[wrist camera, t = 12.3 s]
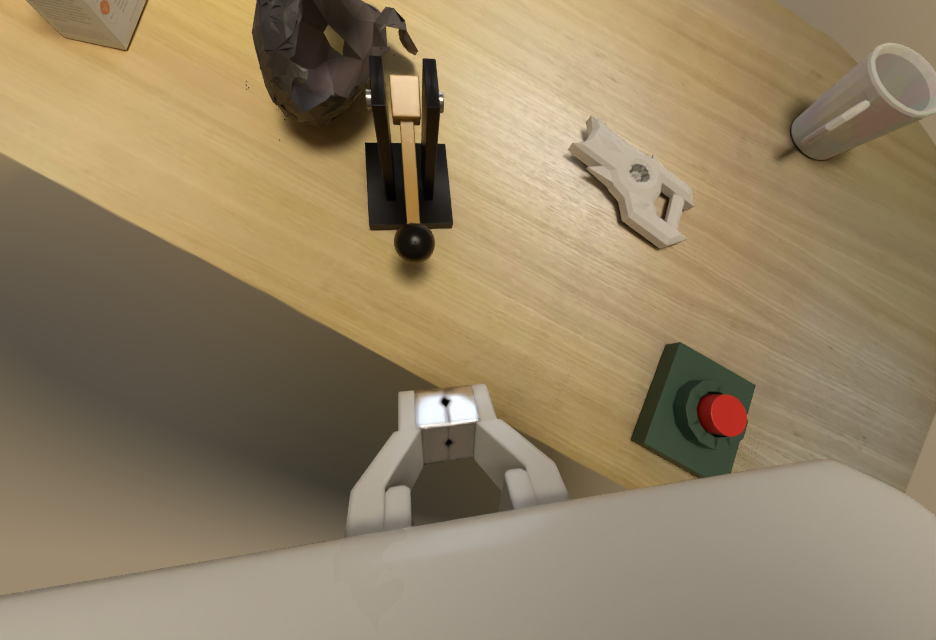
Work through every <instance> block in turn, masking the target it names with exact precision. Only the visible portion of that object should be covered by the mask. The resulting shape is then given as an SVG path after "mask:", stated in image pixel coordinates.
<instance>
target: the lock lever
mask: <svg viewBox="0 0 936 640" xmlns="http://www.w3.org/2000/svg"><path fill="white" fill-rule="evenodd" d="M389 80H390V93H391V107H392V118H393V124H394V125H400V132H401V146H402V160H403V174H404V188H405V202H406V216H407V223H406V224H404V225H402V226H401V227H400V228H399V229H398V231H397V232H396V234H395V238H394V246H395V249H396V252H397V253H398V255H399V256H400V257H401V258H402V259H403V260H405V261H407V262H410V263H421V262H424V261H425V260H427V259H428V258H429V257H430V256H431V255H432V253H433V251H434V248H435V239H434V236H433V234H432V232H431V230H430V229H429V228H428V227H427V226H425V225H424V224H422V223H420V216H419V200H418V183H417V167H416V150H415V133H414V125H420V119H421V108H420V90H419V77H418V76H413V75H392V74H390V75H389Z"/></svg>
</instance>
